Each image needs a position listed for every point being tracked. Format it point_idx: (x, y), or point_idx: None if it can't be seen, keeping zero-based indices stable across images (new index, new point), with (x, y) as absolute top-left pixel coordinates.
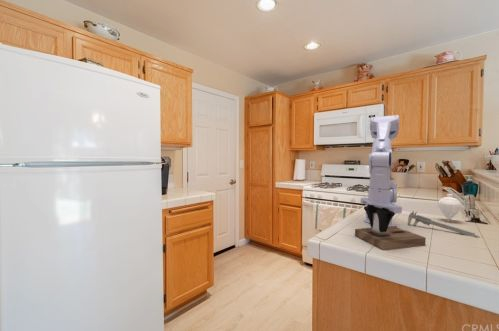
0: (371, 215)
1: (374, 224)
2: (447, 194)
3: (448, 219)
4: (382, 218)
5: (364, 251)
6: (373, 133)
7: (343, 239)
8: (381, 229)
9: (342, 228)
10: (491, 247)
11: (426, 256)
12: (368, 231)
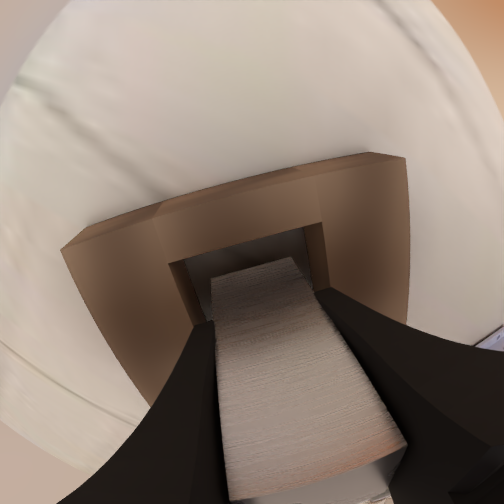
0: (394, 389)
1: (301, 333)
2: None
3: (387, 498)
4: (115, 458)
5: (60, 85)
6: None
7: (297, 20)
8: (187, 343)
9: (484, 155)
10: None
11: (73, 389)
12: (332, 250)
